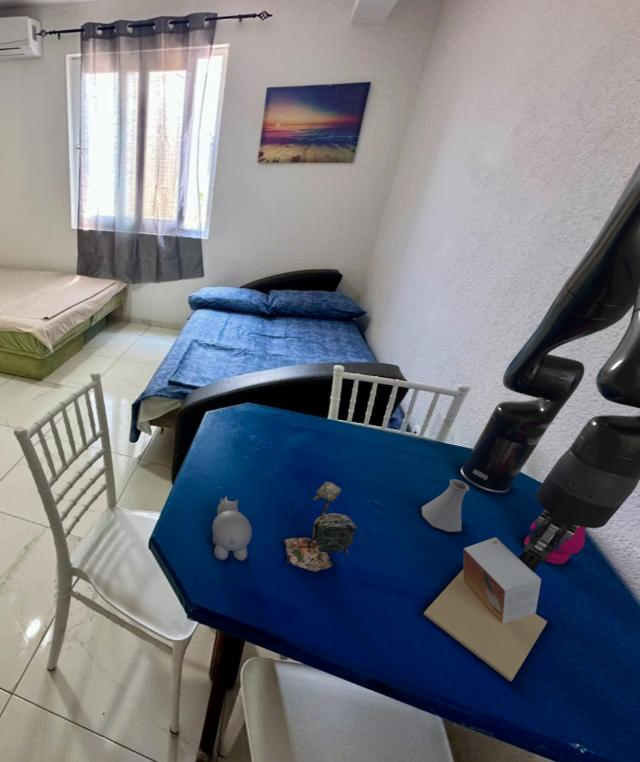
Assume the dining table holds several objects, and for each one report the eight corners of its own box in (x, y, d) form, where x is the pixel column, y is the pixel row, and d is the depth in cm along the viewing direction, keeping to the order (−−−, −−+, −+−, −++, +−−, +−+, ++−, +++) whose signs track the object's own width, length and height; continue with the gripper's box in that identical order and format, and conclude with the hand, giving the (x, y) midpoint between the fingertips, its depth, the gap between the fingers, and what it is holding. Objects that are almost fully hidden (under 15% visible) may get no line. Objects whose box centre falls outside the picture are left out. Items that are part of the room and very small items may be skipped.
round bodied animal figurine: (240, 517, 86) (247, 486, 82) (249, 566, 76) (258, 534, 72) (206, 513, 87) (211, 483, 83) (210, 562, 76) (216, 530, 72)
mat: (463, 569, 76) (464, 567, 76) (545, 623, 68) (547, 621, 67) (422, 614, 68) (424, 612, 68) (510, 681, 60) (512, 679, 59)
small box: (462, 580, 74) (461, 547, 69) (494, 570, 73) (495, 535, 68) (502, 625, 67) (504, 591, 62) (537, 613, 66) (542, 578, 61)
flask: (467, 536, 83) (490, 500, 79) (429, 529, 85) (448, 494, 80) (450, 510, 90) (470, 475, 85) (415, 504, 91) (432, 470, 86)
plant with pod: (347, 585, 73) (384, 503, 63) (281, 564, 76) (307, 484, 67) (343, 549, 80) (376, 471, 70) (282, 532, 83) (306, 455, 73)
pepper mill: (556, 542, 83) (616, 466, 73) (577, 571, 77) (645, 493, 67) (514, 532, 85) (566, 456, 75) (531, 560, 79) (591, 482, 69)
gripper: (612, 522, 51) (541, 606, 59) (634, 484, 58) (567, 564, 66) (536, 486, 57) (480, 568, 65) (564, 455, 63) (510, 533, 72)
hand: (524, 566), depth 65 cm, fingers closed
